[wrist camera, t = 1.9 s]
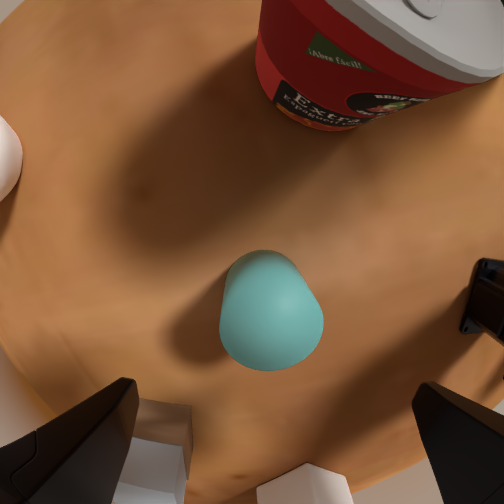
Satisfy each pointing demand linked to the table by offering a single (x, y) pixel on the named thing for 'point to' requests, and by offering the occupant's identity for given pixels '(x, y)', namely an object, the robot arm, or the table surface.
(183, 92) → the table surface
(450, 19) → the canned food
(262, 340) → the teal cylinder
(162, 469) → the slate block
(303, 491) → the medicine bottle
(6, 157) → the plain white apple
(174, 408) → the walnut block
